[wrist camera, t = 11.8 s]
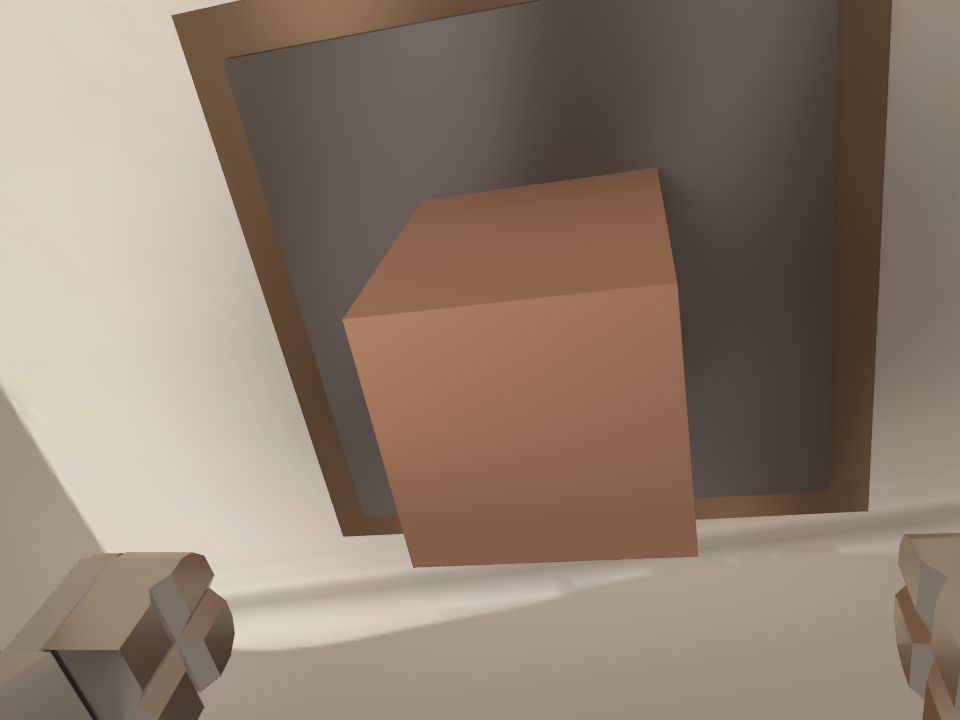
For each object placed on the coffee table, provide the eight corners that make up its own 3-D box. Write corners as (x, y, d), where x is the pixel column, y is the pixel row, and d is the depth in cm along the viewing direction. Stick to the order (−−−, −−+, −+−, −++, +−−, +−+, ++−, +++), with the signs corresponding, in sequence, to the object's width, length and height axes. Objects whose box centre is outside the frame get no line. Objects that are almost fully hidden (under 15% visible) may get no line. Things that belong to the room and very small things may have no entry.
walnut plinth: (845, -124, 17) (905, -134, 14) (833, 431, 23) (872, 521, 20) (241, 0, 20) (162, 17, 16) (375, 462, 26) (339, 545, 23)
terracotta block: (656, 167, 17) (677, 282, 11) (674, 378, 19) (698, 555, 14) (422, 200, 18) (342, 319, 12) (465, 396, 20) (413, 567, 15)
